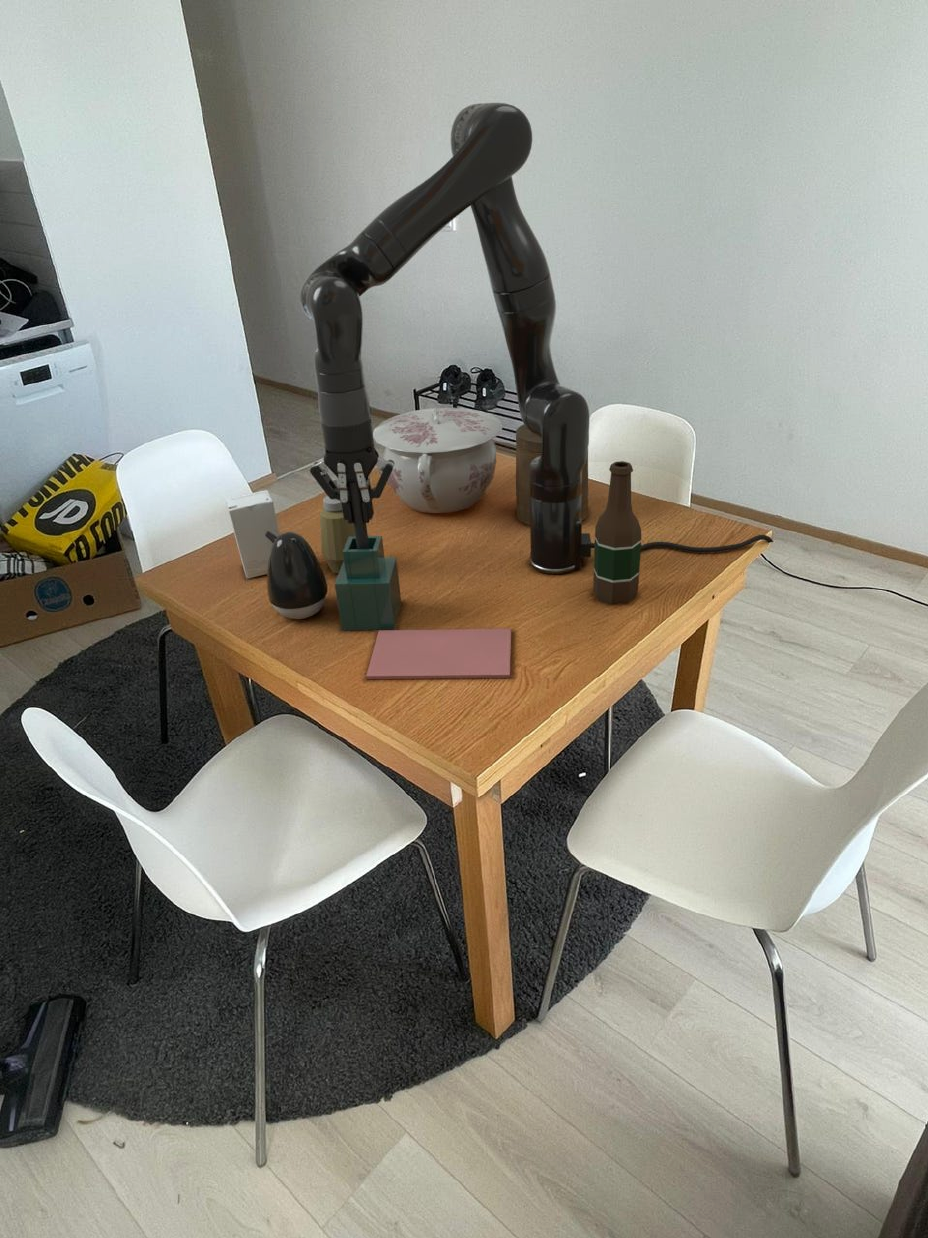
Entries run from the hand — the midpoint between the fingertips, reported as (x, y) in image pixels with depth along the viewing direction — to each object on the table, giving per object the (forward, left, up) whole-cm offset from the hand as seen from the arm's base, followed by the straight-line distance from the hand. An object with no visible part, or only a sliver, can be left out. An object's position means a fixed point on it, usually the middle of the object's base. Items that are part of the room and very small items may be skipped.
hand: (359, 520), depth 133 cm
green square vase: (0, 0, -18) cm, 18 cm away
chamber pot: (-8, -48, -18) cm, 52 cm away
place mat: (-13, +12, -18) cm, 25 cm away
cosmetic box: (+24, -18, -18) cm, 35 cm away
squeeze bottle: (+8, -18, -18) cm, 27 cm away
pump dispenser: (+13, -2, -18) cm, 22 cm away
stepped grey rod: (0, 0, -18) cm, 18 cm away
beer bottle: (-42, -6, -18) cm, 46 cm away
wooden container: (-32, -40, -18) cm, 54 cm away
